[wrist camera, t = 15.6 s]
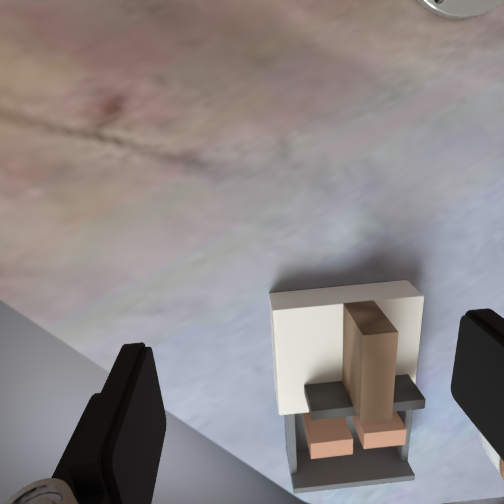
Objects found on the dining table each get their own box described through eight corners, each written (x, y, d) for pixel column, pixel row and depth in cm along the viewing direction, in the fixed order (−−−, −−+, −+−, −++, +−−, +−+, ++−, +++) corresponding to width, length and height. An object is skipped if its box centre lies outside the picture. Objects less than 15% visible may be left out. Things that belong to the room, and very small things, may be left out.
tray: (398, 378, 47) (421, 414, 42) (393, 439, 51) (414, 480, 45) (283, 390, 47) (290, 428, 41) (286, 451, 50) (293, 493, 45)
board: (406, 279, 42) (424, 295, 38) (398, 378, 47) (413, 401, 43) (268, 293, 42) (272, 310, 38) (275, 391, 47) (279, 415, 43)
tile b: (353, 438, 43) (352, 454, 44) (340, 407, 47) (340, 421, 48) (310, 443, 43) (311, 458, 44) (302, 411, 47) (303, 425, 48)
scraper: (415, 296, 38) (446, 327, 33) (407, 382, 42) (434, 423, 37) (301, 307, 38) (314, 340, 32) (304, 393, 42) (315, 435, 36)
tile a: (406, 429, 43) (405, 444, 44) (389, 398, 47) (387, 412, 48) (364, 433, 43) (363, 449, 43) (350, 402, 47) (350, 416, 48)
